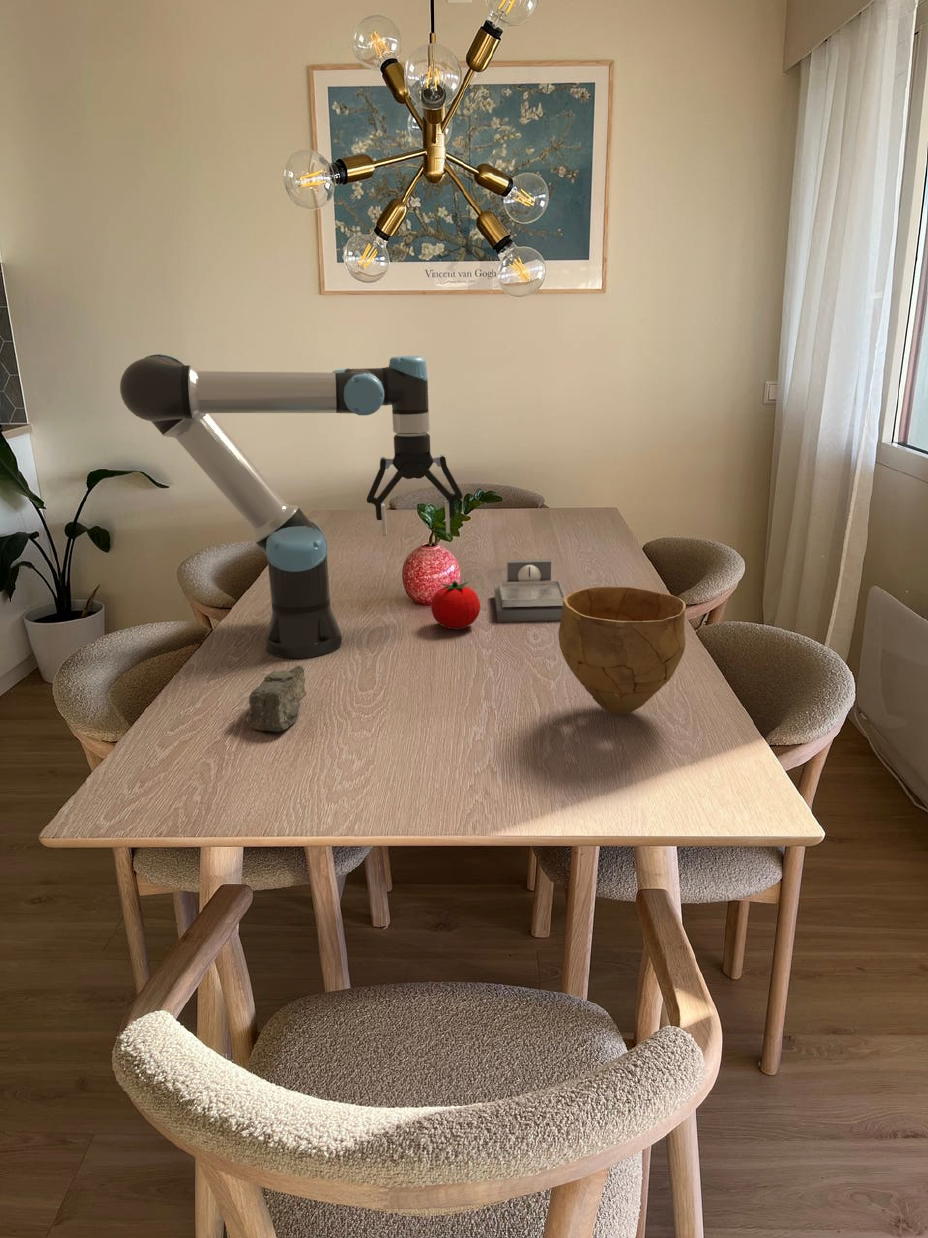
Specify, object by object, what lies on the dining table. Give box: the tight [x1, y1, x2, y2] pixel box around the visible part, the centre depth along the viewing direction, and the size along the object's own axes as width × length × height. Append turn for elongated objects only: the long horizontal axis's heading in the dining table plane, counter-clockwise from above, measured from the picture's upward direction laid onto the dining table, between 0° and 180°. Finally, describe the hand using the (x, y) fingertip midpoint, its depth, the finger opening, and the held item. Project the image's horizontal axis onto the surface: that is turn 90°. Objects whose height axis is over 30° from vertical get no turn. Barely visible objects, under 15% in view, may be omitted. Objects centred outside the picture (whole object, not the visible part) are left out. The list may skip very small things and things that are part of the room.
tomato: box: [430, 579, 481, 630], centre depth 198 cm, size 10×10×10 cm
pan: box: [498, 579, 567, 607], centre depth 208 cm, size 14×14×2 cm
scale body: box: [493, 558, 567, 623], centre depth 209 cm, size 18×16×9 cm
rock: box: [246, 665, 307, 732], centre depth 157 cm, size 17×7×10 cm
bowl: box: [558, 586, 687, 717], centre depth 153 cm, size 21×20×20 cm
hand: (416, 533), depth 201 cm, fingers open, 13 cm apart
